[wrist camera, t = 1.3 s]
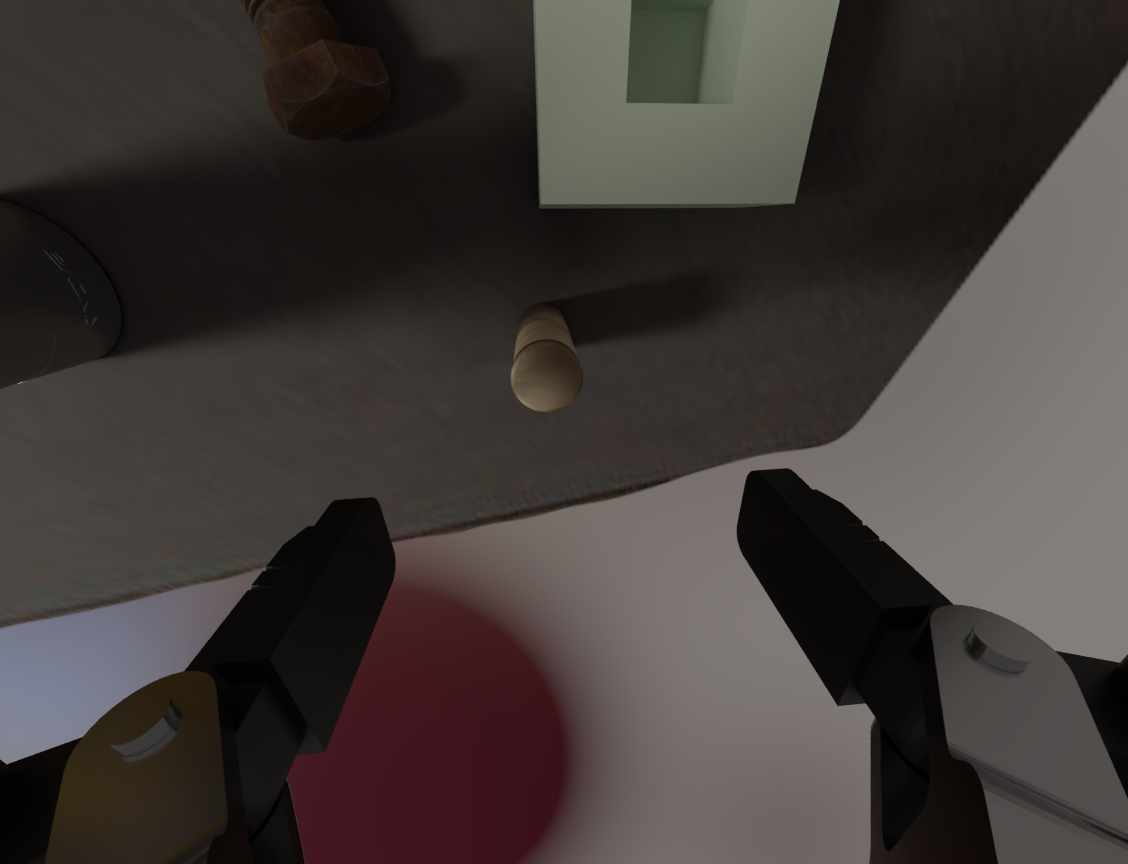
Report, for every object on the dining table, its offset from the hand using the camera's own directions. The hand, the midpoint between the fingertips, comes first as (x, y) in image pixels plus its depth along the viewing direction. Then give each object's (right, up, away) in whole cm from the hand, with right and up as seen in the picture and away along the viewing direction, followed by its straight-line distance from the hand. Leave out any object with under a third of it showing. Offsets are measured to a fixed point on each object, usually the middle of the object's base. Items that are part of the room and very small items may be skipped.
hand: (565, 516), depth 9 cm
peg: (-1, +9, +18) cm, 20 cm away
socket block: (+4, +21, +12) cm, 24 cm away
